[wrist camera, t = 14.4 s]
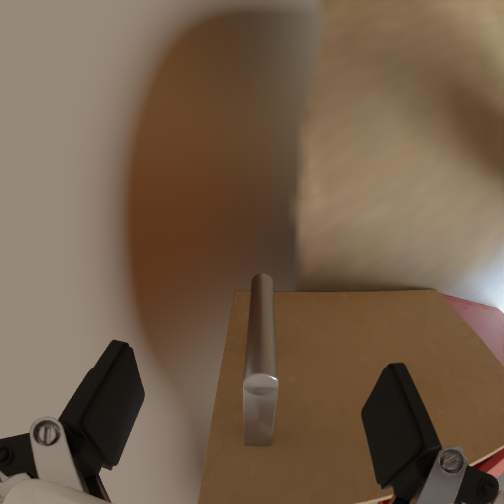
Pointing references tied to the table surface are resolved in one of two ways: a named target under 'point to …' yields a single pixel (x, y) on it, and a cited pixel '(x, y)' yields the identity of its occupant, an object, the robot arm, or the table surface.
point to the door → (338, 391)
